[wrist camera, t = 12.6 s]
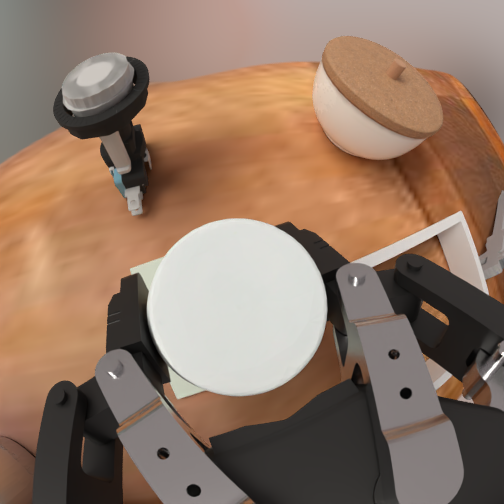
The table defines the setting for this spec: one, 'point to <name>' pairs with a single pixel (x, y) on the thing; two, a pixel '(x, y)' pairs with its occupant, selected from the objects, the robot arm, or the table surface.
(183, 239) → the supplement bottle
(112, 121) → the push button
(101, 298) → the table surface
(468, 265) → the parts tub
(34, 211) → the table surface
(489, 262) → the caliper
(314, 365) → the table surface
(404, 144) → the lidded jar
